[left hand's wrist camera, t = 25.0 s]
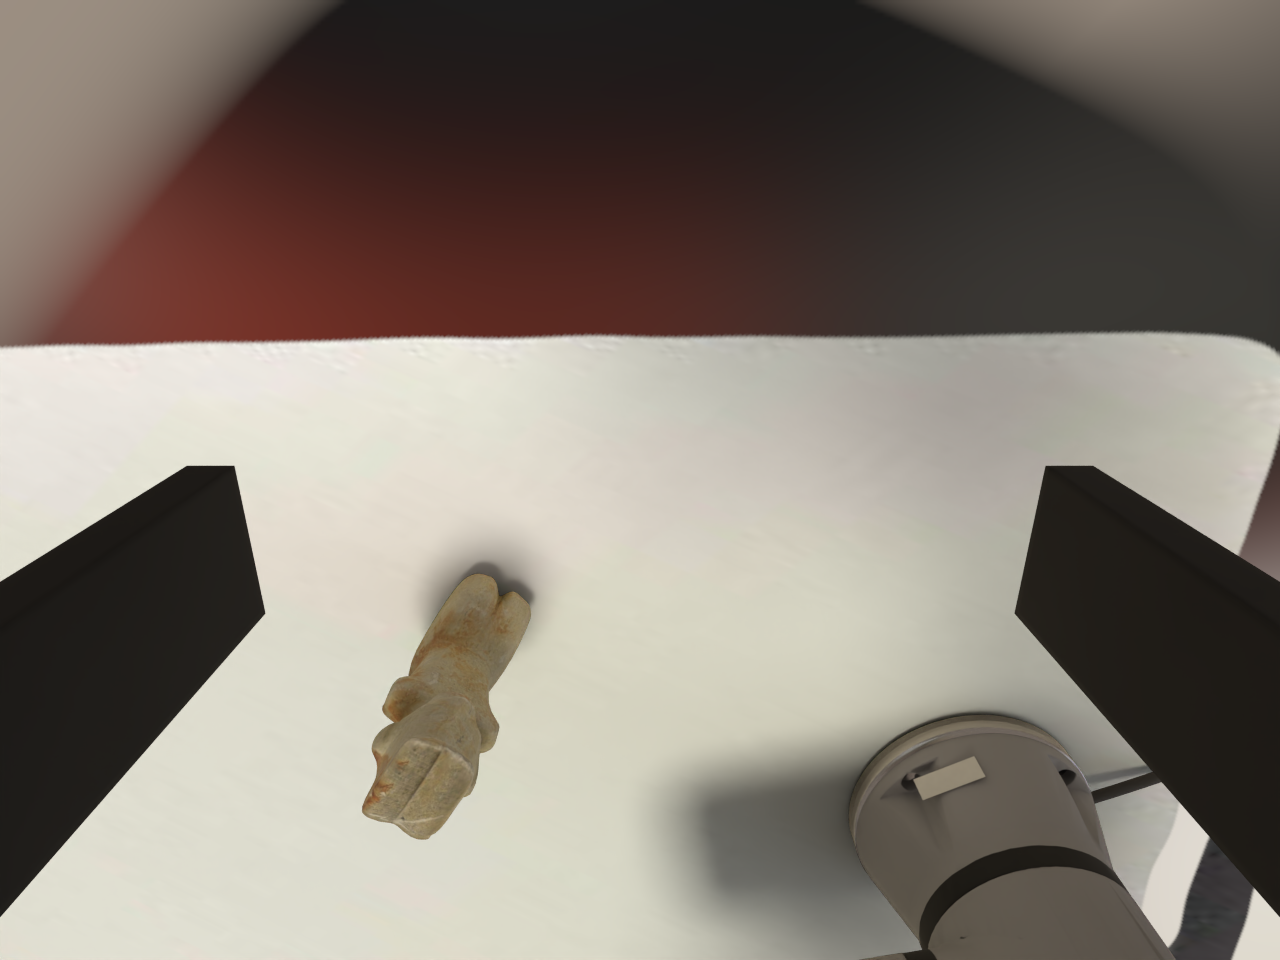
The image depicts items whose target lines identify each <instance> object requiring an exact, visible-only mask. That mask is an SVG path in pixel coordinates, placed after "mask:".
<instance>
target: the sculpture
mask: <svg viewBox="0 0 1280 960" xmlns="http://www.w3.org/2000/svg"><path fill="white" fill-rule="evenodd" d="M530 617H531V610H530V607H529V605H528V603H527V602H526V601H525V600H524V599H523V598H522V597H521V596H520V595H519V594H517V593H515V592H509V593H507V594H505V595H503V596H499V593H498V588H497V584H496V582H495V580H494V579H493V578H492V577H490V576H487V575H483V574H473V575H471V576H469V577H467V578H465V579H464V580H463V581H462V582H461V583H460V584H459V585H458V586H457V587H456V589H455V590H454V591H453V593H452V594H451V595H450V597H449V598H448V600H447V601H446V602H445V604H444V605H443V607H442V608H441V610H440V611H439V613H438V615H437V616H436V618H435V619H434V621H433V623H432V624H431V626H430V628H429V629H428V631H427V632H426V634H425V636H424V638H423V640H422V641H421V643H420V645H419V647H418V649H417V650H416V653H415V655H414V658H413V660H412V663H411V667H410V671H409V676H407V677H402V678H399V679H397V680H396V681H395V682H394V684H393V685H392V687H391V689H390V691H389V694H388V696H387V698H386V701H385V704H384V705H383V708H382V710H383V713H384V714H385V715H386V716H387V717H388V718H389V719H390V720H392V721H393V722H394V723H392V724H390V725H388V726H387V727H385V728H384V729H382V730H381V731H380V732H379V733H378V735H377V736H376V737H375V739H374V741H373V744H372V752H373V755H374V757H375V759H376V762H377V775H376V779H375V781H374V783H373V785H372V787H371V789H370V791H369V793H368V795H367V797H366V799H365V801H364V804H363V806H362V813H363V814H364V815H365V816H367V817H368V818H371V819H374V820H377V821H380V822H388V823H393V824H395V825H397V826H398V827H399V828H400V829H401V830H403V831H404V832H405V833H406V834H408V835H409V836H411V837H413V838H416V839H423V840H424V839H429V837H430V836H431V835H432V834H434V833H436V832H437V831H438V830H439V829H440V828H441V827H442V826H443V825H444V823H445V822H446V821H447V820H448V818H449V817H450V815H451V814H452V812H453V811H454V809H455V808H456V806H457V805H458V803H459V802H460V801H461V799H462V798H463V797H466V796H468V795H470V794H471V792H472V790H473V788H474V786H475V784H476V779H477V775H478V766H479V754H480V753H484V752H486V751H488V750H490V749H491V748H492V747H493V746H494V744H495V742H496V738H497V735H498V731H499V724H498V722H497V721H496V719H495V717H494V715H493V714H492V712H491V709H490V706H489V691H490V690H491V688H492V687H493V686H494V684H495V683H496V682H497V680H498V679H499V677H500V676H501V675H502V673H503V672H504V670H505V669H506V667H507V665H508V664H509V662H510V660H511V659H512V657H513V655H514V653H515V651H516V649H517V647H518V645H519V643H520V641H521V639H522V637H523V635H524V633H525V630H526V628H527V626H528V623H529V621H530Z"/></svg>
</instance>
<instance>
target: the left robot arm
mask: <svg viewBox="0 0 1280 960" xmlns="http://www.w3.org/2000/svg"><path fill="white" fill-rule="evenodd" d="M264 614H265V609H264V605H263V600H262V595H261V590H260V586H259V581H258V576H257V571H256V567H255V562H254V557H253V552H252V547H251V543H250V538H249V533H248V528H247V524H246V519H245V514H244V509H243V505H242V500H241V495H240V490H239V486H238V481H237V476H236V471H235V467H234V466H186V467H184V468H183V469H181V470H180V471H178V472H176V473H175V474H173V475H171V476H170V477H168V478H167V479H165V480H163V481H162V482H160V483H159V484H157V485H155V486H154V487H152V488H151V489H149V490H147V491H146V492H144V493H143V494H141V495H139V496H138V497H136V498H134V499H133V500H131V501H130V502H128V503H126V504H125V505H123V506H122V507H120V508H118V509H117V510H115V511H114V512H112V513H110V514H109V515H107V516H105V517H104V518H102V519H101V520H99V521H97V522H96V523H94V524H93V525H91V526H89V527H88V528H86V529H85V530H83V531H81V532H80V533H78V534H77V535H75V536H73V537H72V538H70V539H68V540H67V541H65V542H64V543H62V544H60V545H59V546H57V547H56V548H54V549H52V550H51V551H49V552H48V553H46V554H44V555H43V556H41V557H39V558H38V559H36V560H35V561H33V562H31V563H30V564H28V565H27V566H25V567H23V568H22V569H20V570H19V571H17V572H15V573H14V574H12V575H11V576H9V577H7V578H6V579H4V580H2V581H1V582H0V917H1V916H2V914H3V913H4V912H5V911H6V910H7V909H8V908H9V906H10V905H11V904H12V903H13V902H14V901H15V900H16V898H17V897H18V896H19V895H20V894H21V893H22V892H23V890H24V889H25V888H26V887H27V886H28V885H29V884H30V882H31V881H32V880H33V879H34V878H35V877H36V876H37V874H38V873H39V872H40V871H41V870H42V869H43V868H44V866H45V865H46V864H47V863H48V862H49V861H50V859H51V858H52V857H53V856H54V855H55V854H56V853H57V851H58V850H59V849H60V848H61V847H62V846H63V845H64V843H65V842H66V841H67V840H68V839H69V838H70V837H71V835H72V834H73V833H74V832H75V831H76V830H77V829H78V827H79V826H80V825H81V824H82V823H83V822H84V821H85V819H86V818H87V817H88V816H89V815H90V814H91V813H92V811H93V810H94V809H95V808H96V807H97V806H98V805H99V803H100V802H101V801H102V800H103V799H104V798H105V797H106V795H107V794H108V793H109V792H110V791H111V790H112V788H113V787H114V786H115V785H116V784H117V783H118V782H119V780H120V779H121V778H122V777H123V776H124V775H125V774H126V772H127V771H128V770H129V769H130V768H131V767H132V766H133V764H134V763H135V762H136V761H137V760H138V759H139V758H140V756H141V755H142V754H143V753H144V752H145V751H146V750H147V748H148V747H149V746H150V745H151V744H152V743H153V742H154V740H155V739H156V738H157V737H158V736H159V735H160V734H161V732H162V731H163V730H164V729H165V728H166V727H167V726H168V724H169V723H170V722H171V721H172V720H173V719H174V717H175V716H176V715H177V714H178V713H179V712H180V711H181V709H182V708H183V707H184V706H185V705H186V704H187V703H188V701H189V700H190V699H191V698H192V697H193V696H194V695H195V693H196V692H197V691H198V690H199V689H200V688H201V687H202V685H203V684H204V683H205V682H206V681H207V680H208V679H209V677H210V676H211V675H212V674H213V673H214V672H215V671H216V669H217V668H218V667H219V666H220V665H221V664H222V663H223V661H224V660H225V659H226V658H227V657H228V656H229V655H230V653H231V652H232V651H233V650H234V649H235V648H236V646H237V645H238V644H239V643H240V642H241V641H242V640H243V638H244V637H245V636H246V635H247V634H248V633H249V632H250V630H251V629H252V628H253V627H254V626H255V625H256V624H257V622H258V621H259V620H260V619H261V618H262V617H263V616H264ZM1015 614H1016V616H1017V617H1018V618H1019V619H1020V620H1021V621H1022V622H1023V624H1024V625H1025V626H1026V627H1027V628H1028V629H1029V630H1030V632H1031V633H1032V634H1033V635H1034V636H1035V637H1036V638H1037V640H1038V641H1039V642H1040V643H1041V644H1042V645H1043V646H1044V648H1045V649H1046V650H1047V651H1048V652H1049V653H1050V655H1051V656H1052V657H1053V658H1054V659H1055V660H1056V661H1057V663H1058V664H1059V665H1060V666H1061V667H1062V668H1063V669H1064V671H1065V672H1066V673H1067V674H1068V675H1069V676H1070V677H1071V679H1072V680H1073V681H1074V682H1075V683H1076V684H1077V685H1078V687H1079V688H1080V689H1081V690H1082V691H1083V692H1084V693H1085V695H1086V696H1087V697H1088V698H1089V699H1090V700H1091V701H1092V703H1093V704H1094V705H1095V706H1096V707H1097V708H1098V709H1099V711H1100V712H1101V713H1102V714H1103V715H1104V716H1105V717H1106V719H1107V720H1108V721H1109V722H1110V723H1111V724H1112V726H1113V727H1114V728H1115V729H1116V730H1117V731H1118V732H1119V734H1120V735H1121V736H1122V737H1123V738H1124V739H1125V740H1126V742H1127V743H1128V744H1129V745H1130V746H1131V747H1132V748H1133V750H1134V751H1135V752H1136V753H1137V754H1138V755H1139V756H1140V758H1141V759H1142V760H1143V761H1144V762H1145V763H1146V764H1147V766H1148V767H1149V768H1150V769H1151V770H1152V771H1153V772H1151V773H1148V774H1145V775H1142V776H1139V777H1136V778H1133V779H1130V780H1127V781H1124V782H1121V783H1118V784H1115V785H1111V786H1108V787H1105V788H1102V789H1099V790H1095V791H1092V792H1091V791H1090V788H1089V786H1088V783H1087V780H1086V779H1085V777H1084V775H1083V773H1082V772H1081V770H1080V769H1079V768H1078V766H1077V765H1076V764H1075V762H1074V761H1073V760H1072V758H1071V757H1070V756H1069V754H1068V753H1067V752H1066V750H1065V749H1064V748H1063V747H1062V746H1061V744H1060V743H1059V742H1058V741H1057V740H1055V739H1054V738H1053V737H1052V736H1051V735H1049V734H1048V733H1046V732H1045V731H1043V730H1042V729H1040V728H1038V727H1036V726H1034V725H1032V724H1029V723H1026V722H1024V721H1021V720H1017V719H1013V718H1009V717H1003V716H995V715H967V716H959V717H953V718H948V719H944V720H940V721H937V722H933V723H930V724H928V725H925V726H922V727H920V728H918V729H916V730H914V731H911V732H909V733H908V734H906V735H904V736H902V737H901V738H899V739H897V740H896V741H895V742H893V743H892V744H890V745H889V746H888V747H886V748H885V749H884V750H883V751H882V752H880V753H879V754H878V755H877V756H876V757H875V758H874V759H873V760H872V762H871V763H870V764H869V765H868V766H867V768H866V769H865V770H864V772H863V773H862V775H861V776H860V778H859V780H858V782H857V784H856V786H855V788H854V791H853V793H852V797H851V800H850V806H849V827H850V831H851V835H852V838H853V842H854V845H855V848H856V851H857V854H858V857H859V859H860V862H861V864H862V866H863V868H864V869H865V871H866V872H867V874H868V875H869V877H870V878H871V879H872V881H873V882H874V883H875V885H876V886H877V887H878V888H879V890H880V891H881V892H882V894H883V895H884V896H885V898H886V899H887V900H888V901H889V903H890V904H891V905H892V907H893V908H894V909H895V910H896V912H897V913H898V914H899V916H900V917H901V918H902V919H903V921H904V922H905V923H906V925H907V926H908V927H909V928H910V930H911V931H912V932H913V933H914V935H915V936H916V937H917V939H918V940H919V942H920V945H921V947H922V950H920V951H914V952H907V953H898V954H892V955H885V956H879V957H873V958H867V959H861V960H1176V959H1175V958H1174V956H1173V955H1172V953H1171V952H1170V950H1169V949H1168V948H1167V946H1166V945H1165V943H1164V942H1163V940H1162V939H1161V938H1160V936H1159V935H1158V933H1157V932H1156V931H1155V929H1154V928H1153V926H1152V925H1151V924H1150V922H1149V921H1148V919H1147V918H1146V916H1145V915H1144V913H1143V912H1142V911H1141V909H1140V908H1139V906H1138V905H1137V904H1136V902H1135V901H1134V899H1133V898H1132V897H1131V895H1130V894H1129V892H1128V891H1127V889H1126V888H1125V886H1124V885H1123V884H1122V882H1121V881H1120V879H1119V878H1118V876H1117V875H1116V873H1115V872H1114V870H1113V868H1112V864H1111V861H1110V857H1109V854H1108V850H1107V846H1106V843H1105V839H1104V836H1103V832H1102V829H1101V825H1100V822H1099V818H1098V815H1097V811H1096V808H1095V803H1098V802H1102V801H1105V800H1108V799H1111V798H1114V797H1117V796H1121V795H1124V794H1127V793H1130V792H1133V791H1136V790H1139V789H1142V788H1145V787H1148V786H1151V785H1154V784H1157V783H1160V782H1162V783H1163V784H1164V785H1165V786H1166V787H1167V788H1168V790H1169V791H1170V792H1171V793H1172V794H1173V795H1174V797H1175V798H1176V799H1177V800H1178V801H1179V802H1180V803H1181V805H1182V806H1183V807H1184V808H1185V809H1186V810H1187V811H1188V813H1189V814H1190V815H1191V816H1192V817H1193V818H1194V819H1195V821H1196V822H1197V823H1198V824H1199V825H1200V826H1201V827H1202V829H1203V830H1204V831H1205V832H1206V833H1207V834H1208V835H1209V837H1210V838H1211V839H1212V840H1213V841H1214V842H1215V843H1216V845H1217V846H1218V847H1219V848H1220V849H1221V850H1222V851H1223V853H1224V854H1225V855H1226V856H1227V857H1228V858H1229V859H1230V861H1231V862H1232V863H1233V864H1234V865H1235V866H1236V868H1237V869H1238V870H1239V871H1240V872H1241V873H1242V874H1243V876H1244V877H1245V878H1246V879H1247V880H1248V881H1249V882H1250V884H1251V885H1252V886H1253V887H1254V888H1255V889H1256V890H1257V892H1258V893H1259V894H1260V895H1261V896H1262V897H1263V898H1264V900H1265V901H1266V902H1267V903H1268V904H1269V905H1270V906H1271V908H1272V909H1273V910H1274V911H1275V912H1276V913H1277V914H1278V916H1279V917H1280V582H1279V581H1278V580H1276V579H1274V578H1273V577H1271V576H1269V575H1268V574H1266V573H1265V572H1263V571H1261V570H1260V569H1258V568H1257V567H1255V566H1253V565H1252V564H1250V563H1248V562H1247V561H1245V560H1244V559H1242V558H1241V557H1239V556H1237V555H1236V554H1234V553H1232V552H1231V551H1229V550H1228V549H1226V548H1224V547H1223V546H1221V545H1220V544H1218V543H1216V542H1215V541H1213V540H1212V539H1210V538H1208V537H1207V536H1205V535H1203V534H1202V533H1200V532H1199V531H1197V530H1195V529H1194V528H1192V527H1191V526H1189V525H1187V524H1186V523H1184V522H1183V521H1181V520H1179V519H1178V518H1176V517H1175V516H1173V515H1171V514H1170V513H1168V512H1166V511H1165V510H1163V509H1162V508H1160V507H1158V506H1157V505H1155V504H1154V503H1152V502H1150V501H1149V500H1147V499H1146V498H1144V497H1142V496H1141V495H1139V494H1137V493H1136V492H1134V491H1133V490H1131V489H1129V488H1128V487H1126V486H1125V485H1123V484H1121V483H1120V482H1118V481H1117V480H1115V479H1113V478H1112V477H1110V476H1109V475H1107V474H1105V473H1104V472H1102V471H1100V470H1099V469H1097V468H1096V467H1094V466H1046V467H1045V471H1044V476H1043V481H1042V486H1041V490H1040V495H1039V500H1038V505H1037V509H1036V514H1035V519H1034V524H1033V528H1032V533H1031V538H1030V543H1029V547H1028V552H1027V557H1026V562H1025V567H1024V571H1023V576H1022V581H1021V586H1020V590H1019V595H1018V600H1017V605H1016V609H1015Z"/></svg>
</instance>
